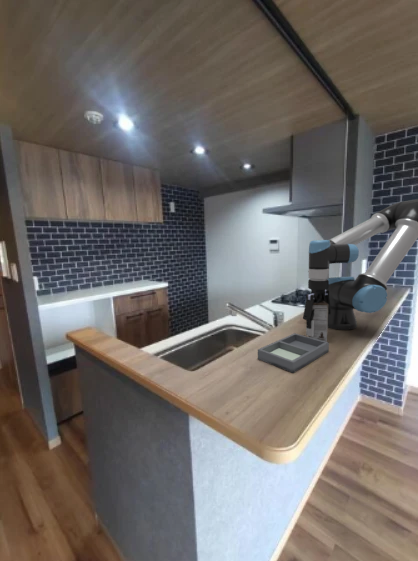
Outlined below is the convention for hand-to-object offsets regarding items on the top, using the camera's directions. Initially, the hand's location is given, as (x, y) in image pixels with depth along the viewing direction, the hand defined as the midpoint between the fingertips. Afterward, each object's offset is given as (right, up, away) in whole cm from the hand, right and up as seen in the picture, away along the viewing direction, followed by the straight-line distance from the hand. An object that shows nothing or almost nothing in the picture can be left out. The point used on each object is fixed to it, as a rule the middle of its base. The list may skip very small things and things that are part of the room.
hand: (317, 332), depth 108 cm
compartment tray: (-14, -5, -14) cm, 20 cm away
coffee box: (0, -3, 0) cm, 3 cm away
